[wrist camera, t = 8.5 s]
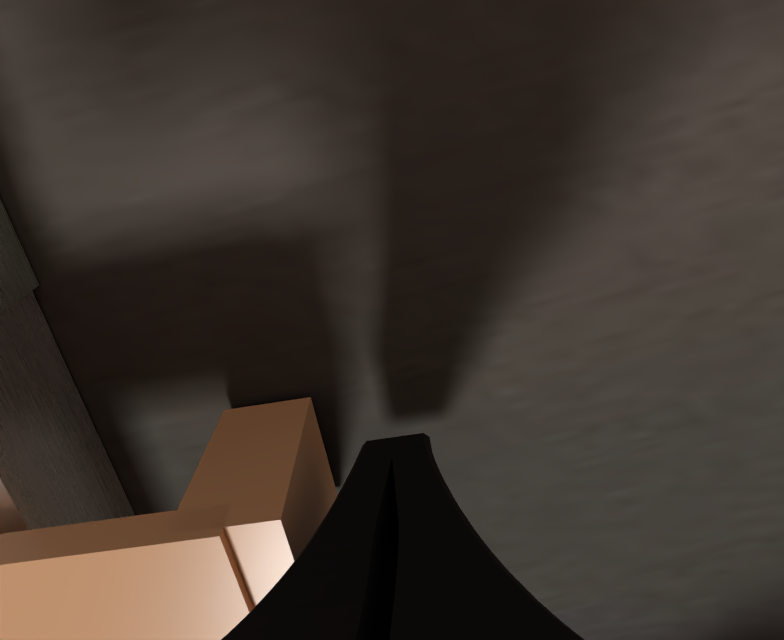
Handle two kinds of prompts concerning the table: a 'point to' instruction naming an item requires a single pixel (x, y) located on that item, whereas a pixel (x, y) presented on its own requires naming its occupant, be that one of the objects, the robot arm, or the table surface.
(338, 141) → the table surface
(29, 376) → the tongs lower arm
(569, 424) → the table surface
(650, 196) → the table surface
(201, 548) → the block
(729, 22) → the table surface
